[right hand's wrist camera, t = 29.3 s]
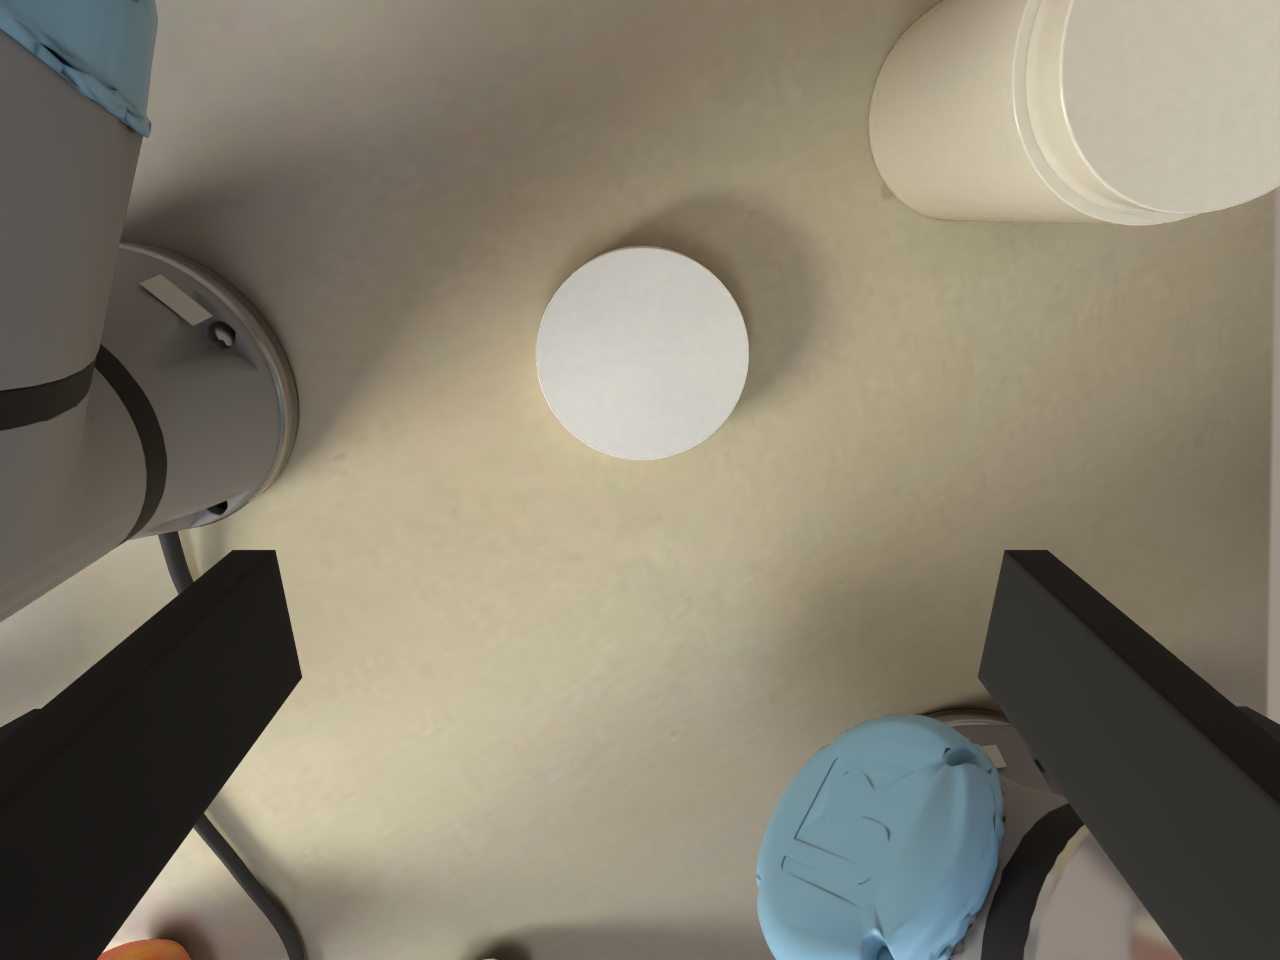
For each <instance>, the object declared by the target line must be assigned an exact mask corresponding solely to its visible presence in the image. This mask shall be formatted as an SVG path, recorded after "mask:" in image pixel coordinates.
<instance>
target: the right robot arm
mask: <svg viewBox="0 0 1280 960" xmlns="http://www.w3.org/2000/svg"><path fill="white" fill-rule="evenodd" d="M156 33H157V9H156V3H155V0H0V622H2V621H3V620H5V619H6V618H8V617H10V616H11V615H13V614H14V613H16V612H17V611H19V610H20V609H22V608H23V607H25V606H27V605H28V604H30V603H31V602H33V601H34V600H36V599H37V598H39V597H41V596H42V595H44V594H45V593H47V592H48V591H50V590H51V589H53V588H54V587H56V586H58V585H59V584H61V583H62V582H64V581H65V580H67V579H68V578H70V577H72V576H73V575H75V574H76V573H78V572H79V571H81V570H82V569H84V568H85V567H87V566H89V565H90V564H92V563H93V562H95V561H96V560H98V559H99V558H101V557H102V556H104V555H106V554H107V553H108V552H110V551H111V550H113V549H114V548H116V547H117V546H119V545H121V544H122V543H124V542H125V541H127V540H132V539H137V538H142V537H147V536H152V535H158V536H159V540H160V543H161V547H162V550H163V553H164V557H165V560H166V563H167V567H168V570H169V573H170V575H171V578H172V580H173V583H174V585H175V587H176V589H177V592H178V594H179V595H178V596H177V597H176V598H174V599H173V600H172V601H171V602H170V603H168V604H167V605H166V606H165V607H163V608H162V609H161V610H160V611H159V612H157V613H156V614H155V615H154V616H153V617H151V618H150V619H149V620H148V621H147V622H145V623H144V624H143V625H142V626H141V627H139V628H138V629H137V630H136V631H135V632H133V633H132V634H131V635H130V636H129V637H127V638H126V639H125V640H124V641H122V642H121V643H120V644H119V645H118V646H116V647H115V648H114V649H113V650H112V651H110V652H109V653H108V654H107V655H106V656H104V657H103V658H102V659H101V660H100V661H98V662H97V663H96V664H95V665H94V666H92V667H91V668H90V669H89V670H87V671H86V672H85V673H84V674H83V675H81V676H80V677H79V678H78V679H77V680H75V681H74V682H73V683H72V684H71V685H69V686H68V687H67V688H66V689H65V690H63V691H62V692H61V693H60V694H59V695H57V696H56V697H55V698H54V699H53V700H51V701H50V702H49V703H48V704H46V705H45V706H44V707H43V708H42V709H33V710H32V711H30V712H28V713H26V714H24V715H22V716H21V717H19V718H17V719H15V720H13V721H12V722H10V723H8V724H6V725H4V726H2V727H1V728H0V960H97V959H98V958H99V956H100V955H101V953H102V952H103V951H104V949H105V948H106V947H107V945H108V944H109V942H110V941H111V940H112V938H113V937H114V936H115V934H116V933H117V931H118V930H119V929H120V927H121V926H122V925H123V923H124V922H125V920H126V919H127V918H128V916H129V915H130V914H131V912H132V911H133V909H134V908H135V907H136V905H137V904H138V903H139V901H140V900H141V898H142V897H143V896H144V894H145V893H146V892H147V890H148V889H149V887H150V886H151V885H152V883H153V882H154V881H155V879H156V878H157V876H158V875H159V874H160V872H161V871H162V870H163V868H164V867H165V865H166V864H167V863H168V861H169V860H170V859H171V857H172V856H173V854H174V853H175V852H176V850H177V849H178V848H179V846H180V845H181V843H182V842H183V841H184V839H185V838H186V837H187V835H188V834H189V832H190V831H191V830H192V828H194V829H195V830H196V832H197V833H198V834H199V835H200V836H201V838H202V839H203V840H204V841H205V842H206V844H207V845H208V846H209V847H210V848H211V849H212V851H213V852H214V853H215V854H216V855H217V856H218V858H219V859H220V860H221V861H222V863H223V864H224V865H225V866H226V867H227V869H228V870H229V871H230V873H231V874H232V875H233V877H234V878H235V879H236V881H237V882H238V883H239V884H240V886H241V887H242V888H243V889H244V890H245V892H246V893H247V894H248V895H249V896H250V898H251V899H252V900H253V901H254V902H255V903H256V905H257V906H258V907H259V908H260V909H261V910H262V912H263V913H264V914H265V915H266V917H267V918H268V919H269V921H270V922H271V923H272V925H273V926H274V928H275V929H276V931H277V932H278V934H279V936H280V938H281V939H282V941H283V943H284V945H285V948H286V950H287V953H288V955H289V958H290V960H304V955H303V951H302V948H301V945H300V942H299V940H298V937H297V935H296V933H295V931H294V929H293V927H292V926H291V924H290V922H289V921H288V919H287V917H286V916H285V914H284V913H283V912H282V910H281V909H280V908H279V906H278V905H277V904H276V902H275V901H274V900H273V899H272V898H271V896H270V895H269V894H268V893H267V892H266V890H265V889H264V888H263V887H262V886H261V884H260V883H259V882H258V881H257V880H256V878H255V877H254V876H253V875H252V873H251V872H250V871H249V869H248V868H247V867H246V865H245V864H244V863H243V861H242V860H241V859H240V857H239V856H238V855H237V854H236V852H235V851H234V850H233V849H232V847H231V846H230V845H229V844H228V843H227V841H226V840H225V839H224V838H223V837H222V836H221V834H220V833H219V832H218V831H217V830H216V828H215V827H214V826H213V825H212V823H211V822H210V821H209V820H208V818H207V817H206V816H205V814H204V812H205V810H206V809H207V808H208V806H209V805H210V803H211V802H212V801H213V799H214V798H215V797H216V795H217V794H218V792H219V791H220V790H221V788H222V787H223V786H224V784H225V783H226V781H227V780H228V779H229V777H230V776H231V775H232V773H233V772H234V770H235V769H236V768H237V766H238V765H239V764H240V762H241V761H242V759H243V758H244V757H245V755H246V754H247V753H248V751H249V750H250V748H251V747H252V746H253V744H254V743H255V742H256V740H257V739H258V737H259V736H260V735H261V733H262V732H263V731H264V729H265V728H266V726H267V725H268V724H269V722H270V721H271V720H272V718H273V717H274V715H275V714H276V713H277V711H278V710H279V709H280V707H281V706H282V704H283V703H284V702H285V700H286V699H287V698H288V696H289V695H290V693H291V692H292V691H293V689H294V688H295V687H296V685H297V684H298V682H299V681H300V680H301V678H302V674H301V670H300V665H299V660H298V655H297V651H296V646H295V641H294V636H293V632H292V627H291V622H290V617H289V613H288V608H287V603H286V598H285V594H284V589H283V584H282V580H281V575H280V570H279V565H278V561H277V556H276V551H275V550H232V551H231V552H230V553H229V554H227V555H226V556H225V557H224V558H223V559H221V560H220V561H219V562H218V563H217V564H215V565H214V566H213V567H212V568H211V569H209V570H208V571H207V572H206V573H205V574H203V575H202V576H201V577H200V578H198V579H197V580H196V581H195V582H193V579H192V577H191V575H190V572H189V569H188V566H187V563H186V560H185V556H184V553H183V549H182V546H181V542H180V539H179V535H178V530H184V529H190V528H195V527H201V526H204V525H208V524H211V523H214V522H217V521H219V520H221V519H224V518H226V517H228V516H230V515H231V514H233V513H235V512H236V511H238V510H239V509H241V508H242V507H244V506H245V505H246V504H248V503H249V502H250V501H252V500H253V499H254V498H256V497H257V496H258V495H260V494H261V493H262V492H263V491H264V490H266V489H267V488H268V487H269V486H270V485H271V484H272V483H273V481H274V480H275V479H276V478H277V477H278V475H279V474H280V472H281V471H282V469H283V468H284V466H285V464H286V462H287V460H288V458H289V456H290V453H291V451H292V448H293V445H294V441H295V437H296V431H297V423H298V405H297V395H296V389H295V384H294V380H293V376H292V373H291V369H290V367H289V364H288V361H287V359H286V356H285V354H284V352H283V350H282V348H281V346H280V344H279V342H278V340H277V339H276V337H275V335H274V334H273V332H272V330H271V329H270V327H269V326H268V325H267V323H266V322H265V320H264V319H263V318H262V316H261V315H260V314H259V313H258V312H257V310H256V309H255V308H254V307H253V306H252V305H251V304H250V303H249V302H248V301H247V300H246V298H245V297H244V296H243V295H242V294H241V293H239V292H238V291H237V290H236V289H235V288H234V287H232V286H231V285H230V284H229V283H228V282H226V281H225V280H223V279H222V278H221V277H219V276H218V275H217V274H215V273H214V272H212V271H210V270H209V269H207V268H205V267H204V266H202V265H200V264H198V263H196V262H194V261H192V260H190V259H188V258H186V257H184V256H181V255H179V254H176V253H174V252H171V251H168V250H164V249H161V248H158V247H153V246H148V245H143V244H135V243H120V240H121V235H122V231H123V226H124V221H125V217H126V212H127V208H128V203H129V198H130V194H131V189H132V185H133V180H134V175H135V171H136V166H137V162H138V157H139V152H140V148H141V143H142V139H143V136H145V137H147V138H149V135H150V132H151V122H150V120H149V119H148V118H147V116H146V111H147V102H148V93H149V84H150V75H151V66H152V60H153V53H154V46H155V39H156ZM978 678H979V680H980V681H981V682H982V684H983V685H984V687H985V688H986V689H987V691H988V692H989V693H990V695H991V696H992V698H993V699H994V700H995V702H996V703H997V704H998V706H999V707H1000V709H1001V710H1002V711H1003V713H1004V714H1005V715H1006V717H1007V718H1008V720H1009V721H1010V722H1011V724H1012V725H1013V726H1014V728H1015V729H1016V731H1017V732H1018V733H1019V735H1020V736H1021V737H1022V739H1023V740H1024V742H1025V743H1026V744H1027V746H1028V747H1029V748H1030V750H1031V751H1032V753H1033V754H1034V755H1035V757H1036V758H1037V759H1038V761H1039V762H1040V764H1041V765H1042V766H1043V768H1044V769H1045V770H1046V772H1047V773H1048V775H1049V776H1050V777H1051V779H1052V780H1053V781H1054V783H1055V784H1056V786H1057V787H1058V788H1059V790H1060V791H1061V792H1062V794H1063V795H1064V797H1065V798H1066V799H1067V801H1068V802H1069V803H1070V805H1071V806H1072V808H1073V809H1074V810H1075V812H1076V813H1077V814H1078V816H1079V817H1080V819H1081V820H1082V821H1083V823H1084V824H1085V825H1086V827H1087V828H1088V830H1089V831H1090V832H1091V834H1092V835H1093V837H1094V838H1095V839H1096V841H1097V842H1098V843H1099V845H1100V846H1101V848H1102V849H1103V850H1104V852H1105V853H1106V854H1107V856H1108V857H1109V859H1110V860H1111V861H1112V863H1113V864H1114V865H1115V867H1116V868H1117V870H1118V871H1119V872H1120V874H1121V875H1122V876H1123V878H1124V879H1125V881H1126V882H1127V883H1128V885H1129V886H1130V887H1131V889H1132V890H1133V892H1134V893H1135V894H1136V896H1137V897H1138V898H1139V900H1140V901H1141V903H1142V904H1143V905H1144V907H1145V908H1146V909H1147V911H1148V912H1149V914H1150V915H1151V916H1152V918H1153V919H1154V920H1155V922H1156V923H1157V925H1158V926H1159V927H1160V929H1161V930H1162V931H1163V933H1164V934H1165V936H1166V937H1167V938H1168V940H1169V941H1170V942H1171V944H1172V945H1173V947H1174V948H1175V949H1176V951H1177V952H1178V953H1179V955H1180V956H1181V958H1182V959H1183V960H1280V725H1279V724H1278V723H1276V722H1274V721H1272V720H1270V719H1268V718H1267V717H1265V716H1263V715H1261V714H1259V713H1258V712H1256V711H1254V710H1252V709H1250V708H1248V707H1236V706H1235V705H1234V704H1232V703H1231V702H1230V701H1229V700H1227V699H1226V698H1225V697H1224V696H1223V695H1221V694H1220V693H1219V692H1218V691H1217V690H1215V689H1214V688H1213V687H1212V686H1211V685H1209V684H1208V683H1207V682H1206V681H1205V680H1203V679H1202V678H1201V677H1200V676H1199V675H1197V674H1196V673H1195V672H1194V671H1193V670H1191V669H1190V668H1189V667H1188V666H1186V665H1185V664H1184V663H1183V662H1182V661H1180V660H1179V659H1178V658H1177V657H1176V656H1174V655H1173V654H1172V653H1171V652H1170V651H1168V650H1167V649H1166V648H1165V647H1164V646H1162V645H1161V644H1160V643H1159V642H1158V641H1156V640H1155V639H1154V638H1153V637H1151V636H1150V635H1149V634H1148V633H1147V632H1145V631H1144V630H1143V629H1142V628H1141V627H1139V626H1138V625H1137V624H1136V623H1135V622H1133V621H1132V620H1131V619H1130V618H1129V617H1127V616H1126V615H1125V614H1124V613H1123V612H1121V611H1120V610H1119V609H1118V608H1117V607H1115V606H1114V605H1113V604H1112V603H1110V602H1109V601H1108V600H1107V599H1106V598H1104V597H1103V596H1102V595H1101V594H1100V593H1098V592H1097V591H1096V590H1095V589H1094V588H1092V587H1091V586H1090V585H1089V584H1088V583H1086V582H1085V581H1084V580H1083V579H1082V578H1080V577H1079V576H1078V575H1077V574H1075V573H1074V572H1073V571H1072V570H1071V569H1069V568H1068V567H1067V566H1066V565H1065V564H1063V563H1062V562H1061V561H1060V560H1059V559H1057V558H1056V557H1055V556H1054V555H1053V554H1051V553H1050V552H1049V551H1048V550H1005V551H1004V556H1003V561H1002V565H1001V570H1000V575H999V580H998V584H997V589H996V594H995V598H994V603H993V608H992V613H991V617H990V622H989V627H988V632H987V636H986V641H985V646H984V651H983V655H982V660H981V665H980V670H979V674H978Z"/></svg>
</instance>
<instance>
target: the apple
mask: <svg viewBox="0 0 1280 960" xmlns="http://www.w3.org/2000/svg"><path fill="white" fill-rule="evenodd" d="M97 960H191V959H190V957H189V955H188V953H187V952H186V950H185V949H184V948H183V947H182V946H181V945H180V944H179V943H177V942H175V941H172V940H166V939H150V940H140V941H135V942H130V943H126V944H123V945H120V946H117V947H115V948H113V949H110V950H108V951H106V952H104V953H102V954H101V955H100V956H99V958H98V959H97Z"/></svg>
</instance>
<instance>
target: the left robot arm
mask: <svg viewBox="0 0 1280 960" xmlns="http://www.w3.org/2000/svg"><path fill="white" fill-rule="evenodd" d="M756 873H757V884H758V886H759V888H760V889H759V893H758V897H757V910H758V916H759V921H760V924H761V928H762V931H763V934H764V937H765V939H766V942H767V944H768V946H769V948H770V950H771V952H772V954H773V955H774V957H775V959H776V960H1183V959H1182V958H1181V956H1180V955H1179V953H1178V952H1177V951H1176V949H1175V948H1174V947H1173V945H1172V944H1171V942H1170V941H1169V940H1168V938H1167V937H1166V936H1165V934H1164V933H1163V931H1162V930H1161V929H1160V927H1159V926H1158V925H1157V923H1156V922H1155V920H1154V919H1153V918H1152V916H1151V915H1150V914H1149V912H1148V911H1147V909H1146V908H1145V907H1144V905H1143V904H1142V903H1141V901H1140V900H1139V898H1138V897H1137V896H1136V894H1135V893H1134V892H1133V890H1132V889H1131V887H1130V886H1129V885H1128V883H1127V882H1126V881H1125V879H1124V878H1123V876H1122V875H1121V874H1120V872H1119V871H1118V870H1117V868H1116V867H1115V865H1114V864H1113V863H1112V861H1111V860H1110V859H1109V857H1108V856H1107V854H1106V853H1105V852H1104V850H1103V849H1102V848H1101V846H1100V845H1099V843H1098V842H1097V841H1096V839H1095V838H1094V837H1093V835H1092V834H1091V832H1090V831H1089V830H1088V828H1087V827H1086V825H1085V824H1084V823H1083V821H1082V820H1081V819H1080V817H1079V816H1078V814H1077V813H1076V812H1075V810H1074V809H1073V808H1072V806H1071V805H1070V803H1069V802H1068V801H1067V799H1066V798H1065V797H1064V795H1063V794H1062V792H1061V791H1060V790H1059V788H1058V787H1057V786H1056V784H1055V783H1054V781H1053V780H1052V779H1051V777H1050V776H1049V775H1048V773H1047V772H1046V770H1045V769H1044V768H1043V766H1042V765H1041V764H1040V762H1039V761H1038V759H1037V758H1036V757H1035V755H1034V754H1033V753H1032V751H1031V750H1030V748H1029V747H1028V746H1027V744H1026V743H1025V742H1024V740H1023V739H1022V737H1021V736H1020V735H1019V733H1018V732H1017V731H1016V729H1015V728H1014V726H1013V725H1012V724H1011V722H1010V721H1009V720H1008V718H1007V717H1006V715H1005V714H1002V713H999V712H994V711H989V710H980V709H954V710H946V711H940V712H935V713H931V714H927V715H924V716H922V715H914V714H897V715H888V716H883V717H878V718H875V719H871V720H868V721H866V722H863V723H861V724H859V725H856V726H854V727H852V728H850V729H848V730H847V731H845V732H843V733H842V734H841V735H840V736H839V737H838V738H837V739H836V740H835V741H834V742H832V743H831V744H829V745H827V746H825V747H822V748H821V749H820V750H819V751H818V752H817V753H816V754H814V755H813V756H812V757H811V758H810V759H809V760H808V762H807V763H806V764H805V765H804V766H803V767H802V768H801V770H800V771H799V772H798V773H797V774H796V776H795V777H794V778H793V779H792V781H791V782H790V784H789V785H788V787H787V788H786V790H785V792H784V793H783V795H782V796H781V798H780V800H779V802H778V804H777V806H776V807H775V809H774V812H773V814H772V816H771V818H770V820H769V823H768V825H767V828H766V831H765V834H764V837H763V841H762V844H761V848H760V852H759V858H758V863H757V872H756Z"/></svg>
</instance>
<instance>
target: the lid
mask: <svg viewBox="0 0 1280 960" xmlns="http://www.w3.org/2000/svg"><path fill="white" fill-rule="evenodd" d="M536 365H537V373H538V377H539V381H540V385H541V388H542V391H543V393H544V396H545V398H546V401H547V402H548V404H549V406H550V408H551V409H552V411H553V413H554V414H555V415H556V417H557V418H558V419H559V421H560V422H561V423H562V424H563V425H564V426H565V427H566V428H567V429H568V430H569V432H570V433H572V434H573V435H574V436H575V437H577V438H578V439H579V440H580V441H582V442H584V443H585V444H587V445H588V446H590V447H592V448H594V449H596V450H598V451H600V452H603V453H605V454H608V455H611V456H615V457H618V458H624V459H629V460H655V459H661V458H666V457H671V456H674V455H677V454H680V453H683V452H685V451H687V450H689V449H691V448H693V447H695V446H697V445H698V444H700V443H701V442H703V441H704V440H706V439H707V438H708V437H709V436H711V435H712V434H713V433H714V432H716V431H717V429H718V428H719V427H720V426H721V425H722V424H723V423H724V422H725V421H726V419H727V418H728V417H729V415H730V414H731V412H732V411H733V409H734V408H735V406H736V404H737V402H738V400H739V398H740V396H741V393H742V391H743V388H744V385H745V381H746V377H747V373H748V366H749V341H748V335H747V329H746V326H745V323H744V319H743V316H742V314H741V312H740V309H739V307H738V305H737V303H736V302H735V300H734V298H733V297H732V295H731V293H730V292H729V291H728V289H727V288H726V287H725V286H724V285H723V283H722V282H721V281H720V280H719V279H718V278H717V277H716V276H715V275H714V274H713V273H711V272H710V271H709V270H708V269H707V268H706V267H704V266H703V265H701V264H700V263H698V262H697V261H696V260H694V259H692V258H690V257H688V256H686V255H684V254H682V253H679V252H676V251H673V250H671V249H667V248H662V247H657V246H642V245H641V246H628V247H623V248H619V249H614V250H611V251H609V252H606V253H603V254H601V255H599V256H597V257H595V258H593V259H591V260H590V261H588V262H587V263H585V264H584V265H582V266H581V267H580V268H578V269H577V270H576V271H575V272H574V273H573V274H572V275H571V276H570V277H569V278H567V279H566V280H565V281H564V282H563V284H562V285H561V286H560V287H559V289H558V290H557V291H556V292H555V294H554V295H553V297H552V299H551V300H550V302H549V304H548V305H547V308H546V310H545V312H544V315H543V317H542V320H541V323H540V327H539V330H538V335H537V343H536Z"/></svg>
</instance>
